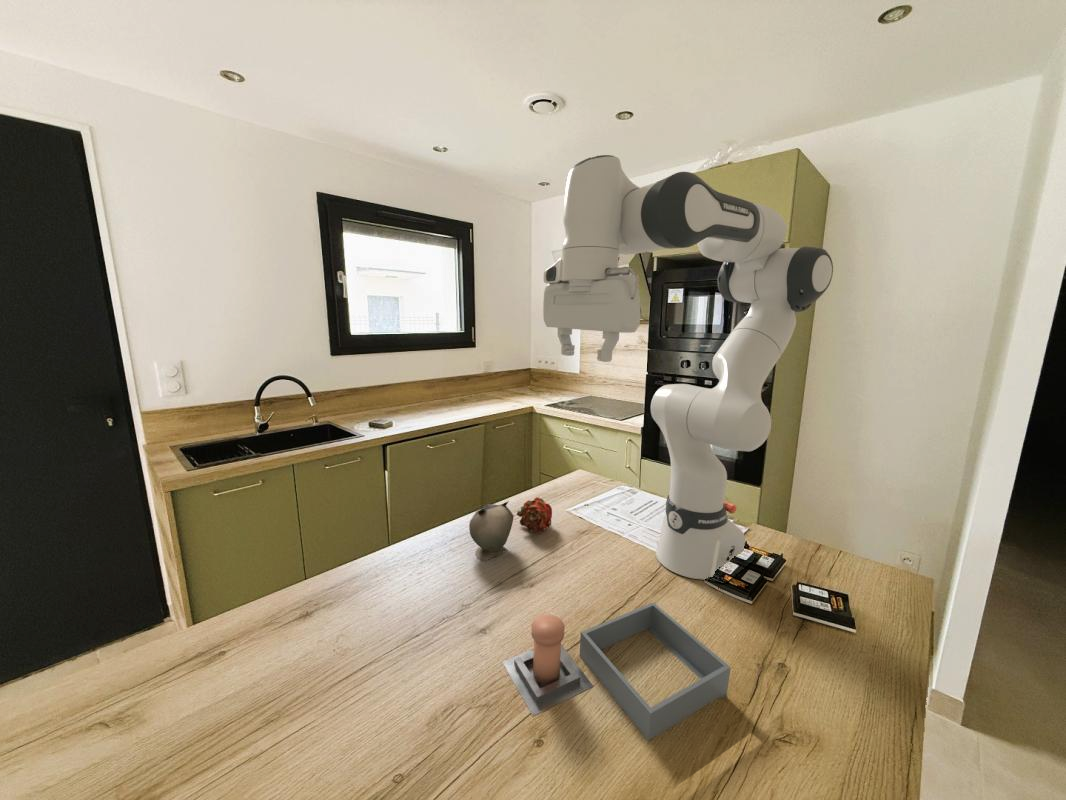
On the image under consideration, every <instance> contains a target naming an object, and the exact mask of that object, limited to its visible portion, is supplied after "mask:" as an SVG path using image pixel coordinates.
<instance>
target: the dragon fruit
mask: <svg viewBox="0 0 1066 800" xmlns="http://www.w3.org/2000/svg"><path fill="white" fill-rule="evenodd" d="M516 515H517V516H518V517H519V518H520V517H521V518H520V520H519V524H520V525H521V526H523V527H524V528H526V529H527V530H528V531H531V532H532V533H537V534H538V533H542V532H544V530H546V529H549V528H550V527H551V526H552V516H553V509H552V507H551V505H550V503H546V502H545V500H544V499H542V498H541V497H534V499H533V500H529V499H528V500H527V501H526V502H524V503H523V506H521V507H520V510H518V511H517V513H516Z"/></svg>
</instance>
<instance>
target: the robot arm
mask: <svg viewBox="0 0 1066 800" xmlns="http://www.w3.org/2000/svg"><path fill="white" fill-rule="evenodd" d="M566 180H567V181H566V185H565V192H564V201H563V218H562V219H563V226H564V232H565V236H564V240H563V241H564V242H563V244H562V248H561V249H562V250H561V251H562V252H561V257H560V258H559V259H558V260H557V261H556V262H554V263H553V264H552V265H551V266H549V267H548V268H546V269H545V270H544V272H543V282H544V284H547V285H546V286H545V287H544V292H543V303H542V304H543V307H542V309H543V310H542V311H543V312H542V313H543V314H542V315H543V322H544V324H545V326H546V327H547V328H556V329H557V337H558V341H559V343H560V345H561V347H560V348H561V349H560V350H561V351H560V353H561V355H562V356H567V357H568V356H574V355H575V349H576V348H575V344H572V343H573V342H572V339H571V335H572V334H573V330H583V331H594V332H595V331H596V332H602V339H603V340H604V341H603V344H602V346H601V348H600V349H597V351H596V353H597V354H596V355H597V356H596V360H597V361H598V362H603V363H607V362H609V363H611V362H612V360H613V351H614V350H615V347H616V345H617V344H618V342H619V340H620V333H621V334H622V333H625V334H626V333H627V334H628V333H631V334H632V333H636V332H637V330H638V328H639V327H640V325H641V324H640V323H641V299H640V290H639V276H638V274H637V273H636V271H635V270H634V269H632V267H631V266H622V267H619V259H620V257H619V256H620V255H625V256H626V255H635V254H642V253H643V254H644V253H647V252H656V251H661V250H669V249H671V250H672V249H686V248H691V247H692V246H694V245H697V248H698V250H699V253H701V255H702V256H703V257H705V258H707V259H710V260H713V261H717V262H722V265H721V267H720V269H719V272H718V275H717V289H718V291H719V294H720V295H721V296H722V298H723V299H724V300H726V301H729V302H733V303H736V304H743V303H748V304H750V308H749V310H748V311H747V312H748V313H747V314H746V315H745V316H744V317H743V318H742V319H741V320H740V321H739V322H738V323H737V324H736V325H735V327H734V328H733V330H731V332H730V333H729V335H728V336H727V338H726V339H725V340H724V342H723V343H722V344H721V346H720V347H719V349H718V350H717V352H716V353H715V354H714V355H713V357H712V361H711V362H712V364H711V367H712V371H713V374H714V376H715V377H716V379H718V383H717V385H715V386H714V387H712V388H708V387H702V386H697V385H692V384H688V383H674V384H673V383H672V384H665V385H662V386H661V387H659V388H658V389H657V390H656V391H655V393H654V394H653V396H652V399H651V402H650V414H651V418H652V419H653V421H654V422H655V423H656V424H657V426H658V428H659V429H660V431H661V432H662V435H663V437H664V439H665V442H666V447H667V451H668V455H669V458H670V459H669V460H670V480H669V481H670V483H669V492H668V493H669V494H668V495H667V497H666V500H665V513H664V515H663V519H662V525H661V529H660V534H659V536H657V537H656V544H657V548H656V551H655V556H656V558H657V560H658V561H659V563H660V564H661V565H662V566H663V567H664V568H666V569H668V570H669V571H671V572H673V573H675V574H677V575H680V576H683V577H685V578H690V579H695V580H704V581H705V579H706V578H708V577H713V575H714V574H715V571H716V570H717V569H719V567H721V566H723V565H724V564H726V563H727V562H729V561H730V560H731V559H732V558H734V556H737V555H738V554H740V553H741V552H743V551H744V546H745V545H746V537H745V534H744V532H743V530H741V528H739V526H737V525H736V524H735V523H734V522H732V520H730V519H729V518H728V515H727V512H728V513H730V514H735V513H736V511H737V505H736V504H734V503H731V502H729V501H726V502H725V496H726V489H727V488H726V487H727V480H728V472H727V470H726V467H725V465H724V464H723V462H722V461H721V460H720V459H719V458H718V457H717V455H715V452H714V450H713V448H712V446H714V447H718V448H721V449H723V450H730V451H739V452H752V451H754V450H756V449H758V448H759V447H761V446H762V445H763V444H764V443H765V441H766V440H767V439H768V437H769V435H770V433H771V430H772V429H771V428H772V416H771V414H770V412H769V410H768V408H767V406H766V405H765V404H764V402H763V400H762V399H763V398H762V389H763V386H764V384H765V382H766V380H767V377H768V376H769V375H770V373H771V371H772V370H773V368H774V367H775V365H776V364H777V362H778V361H779V360H780V358H781V356H782V355H783V354H784V352H785V350H786V348H787V347H788V344H789V343H790V341H791V338H792V337H793V334H794V331H795V328H796V325H797V317H796V314H795V313H801V312H804V311H806V310H808V309H809V308H810V307H811V306H812V305H813V304H814V302H816V301H817V300H819V299H820V298H821V297H822V296H823V294H824V293H825V292H826V291H827V290H828V288H829V286H830V285H831V281H832V279H833V272H834V264H833V259H832V257H831V256H830V254H829V252H828V251H827V250H826V249H824V248H822V247H815V246H802V247H799V248H798V247H786V248H782V247H781V246H782V244H783V243H784V242H785V238H786V236H787V235H786V234H787V224H786V220H785V219H784V217H783V216H782V214H780V213H779V212H778V211H776V210H775V209H772V208H771V207H769V206H767V205H763V204H761V203H758V202H753V201H748V200H745V199H743V198H739V197H737V196H736V197H735V196H733V195H729V194H726V193H721V192H719V191H717V190H715V189H714V188H713V187H711V186H710V185H709V184H708V183H706V182H705V181H704V180H703V179H702V178H701V177H699V176H698V175H697V174H694V173H693V172H689V171H678V172H675V173H673V174H672V175H669V176H667V177H665V178H663V179H660V180H659V181H657V182H656V181H655V182H654V183H651V184H648V185H644V186H641V187H639V186H638V185H636V184H635V183H633V181H632V180H630V179H629V177H628V176H627V175H626V173H625V172H624V171H623V168H622V165H621V160H620V158H619V157H617V156H614V155H612V154H611V155H609V154H601V155H595V156H593V157H588V158H585V159H584V160H581V161H578V162H577V163H575V164H574V165H573V167H571V169H570V170H569V172H568V175H567V179H566Z"/></svg>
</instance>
